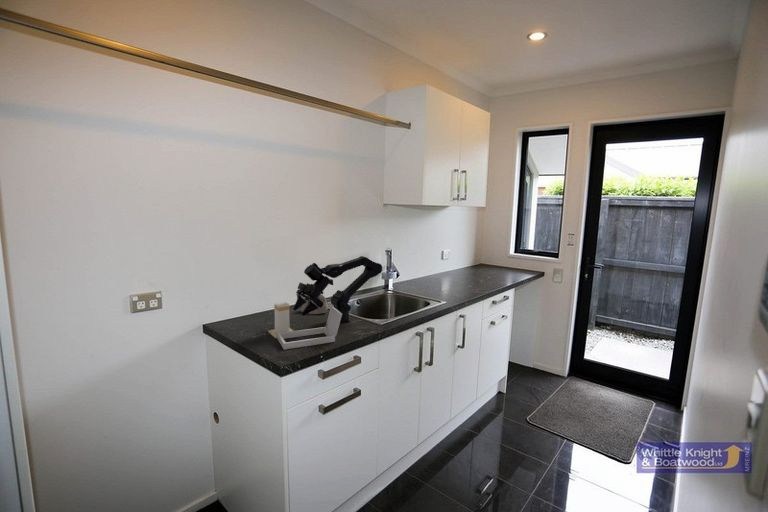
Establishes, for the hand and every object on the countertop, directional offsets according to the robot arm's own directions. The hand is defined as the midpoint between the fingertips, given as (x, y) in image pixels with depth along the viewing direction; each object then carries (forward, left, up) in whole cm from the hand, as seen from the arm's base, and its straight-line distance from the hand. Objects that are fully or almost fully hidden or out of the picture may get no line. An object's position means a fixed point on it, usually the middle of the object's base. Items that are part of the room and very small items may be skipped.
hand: (297, 312), depth 172 cm
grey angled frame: (-2, +14, -8) cm, 17 cm away
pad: (+8, +1, -8) cm, 11 cm away
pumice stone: (-15, -23, -9) cm, 29 cm away
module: (+8, +1, -8) cm, 11 cm away
